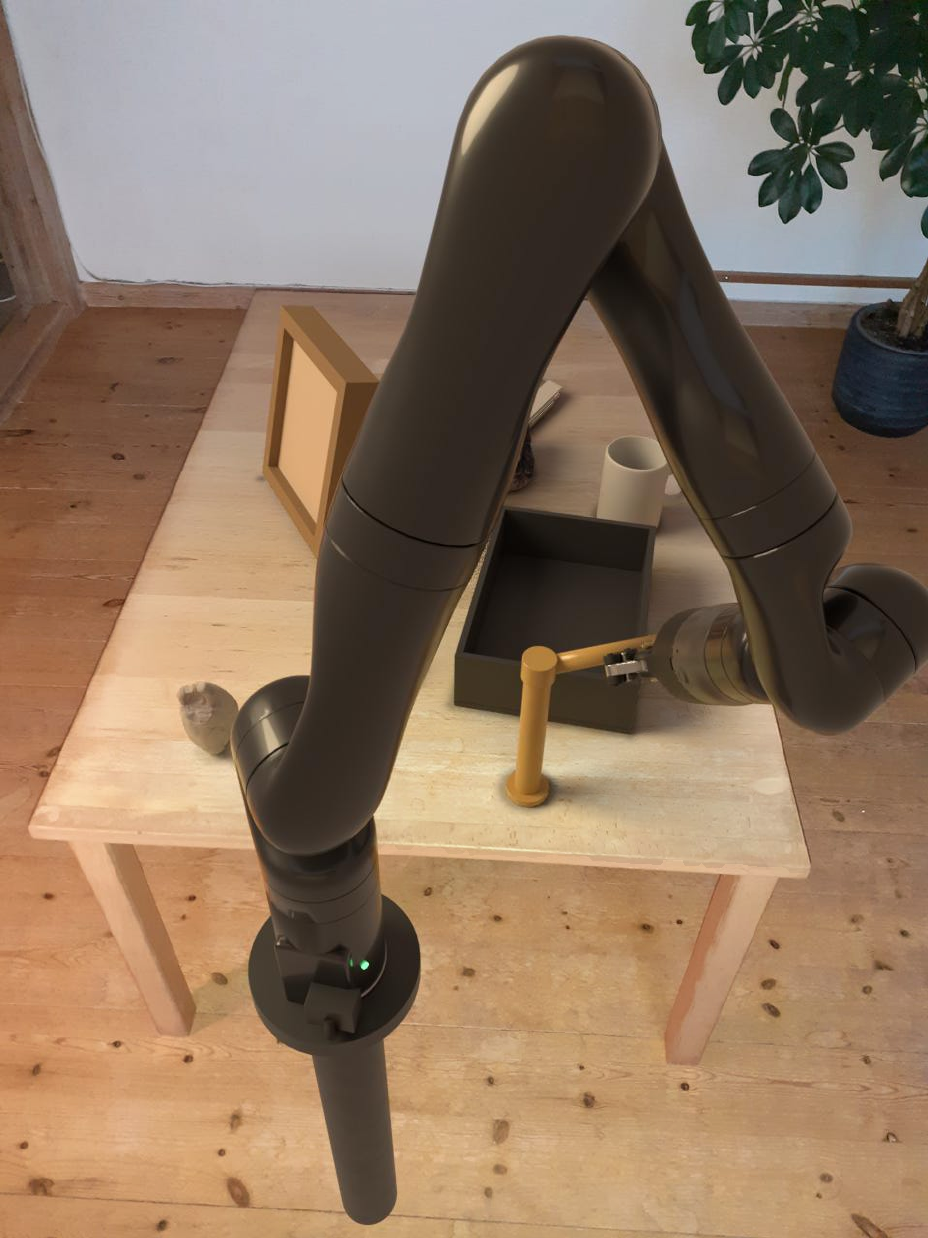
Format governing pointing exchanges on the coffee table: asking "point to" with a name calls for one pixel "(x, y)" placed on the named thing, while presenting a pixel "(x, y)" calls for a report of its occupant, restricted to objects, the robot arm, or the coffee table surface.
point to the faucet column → (530, 750)
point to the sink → (555, 612)
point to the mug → (635, 482)
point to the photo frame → (312, 416)
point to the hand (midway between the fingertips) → (637, 659)
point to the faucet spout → (568, 660)
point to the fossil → (207, 715)
